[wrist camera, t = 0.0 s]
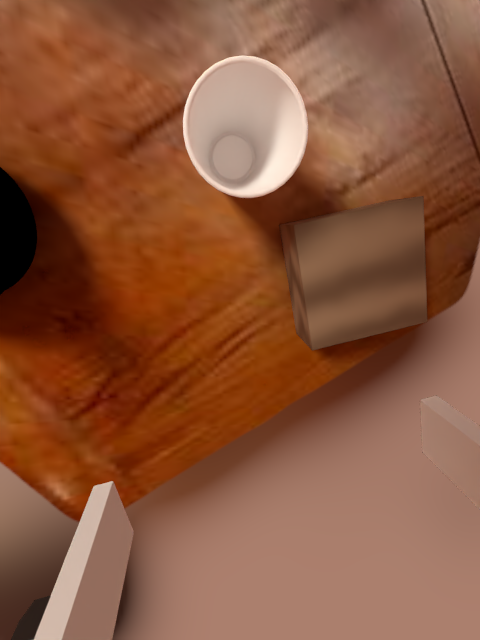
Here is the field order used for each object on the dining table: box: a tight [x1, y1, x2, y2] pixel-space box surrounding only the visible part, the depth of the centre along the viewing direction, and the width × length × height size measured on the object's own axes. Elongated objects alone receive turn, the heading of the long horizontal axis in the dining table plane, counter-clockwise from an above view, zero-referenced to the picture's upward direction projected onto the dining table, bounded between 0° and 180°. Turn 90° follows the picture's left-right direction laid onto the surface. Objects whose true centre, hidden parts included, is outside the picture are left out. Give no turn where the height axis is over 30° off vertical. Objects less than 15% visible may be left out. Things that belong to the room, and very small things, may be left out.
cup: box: [183, 56, 308, 198], centre depth 30 cm, size 10×10×11 cm
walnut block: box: [279, 196, 427, 350], centre depth 38 cm, size 14×14×6 cm
